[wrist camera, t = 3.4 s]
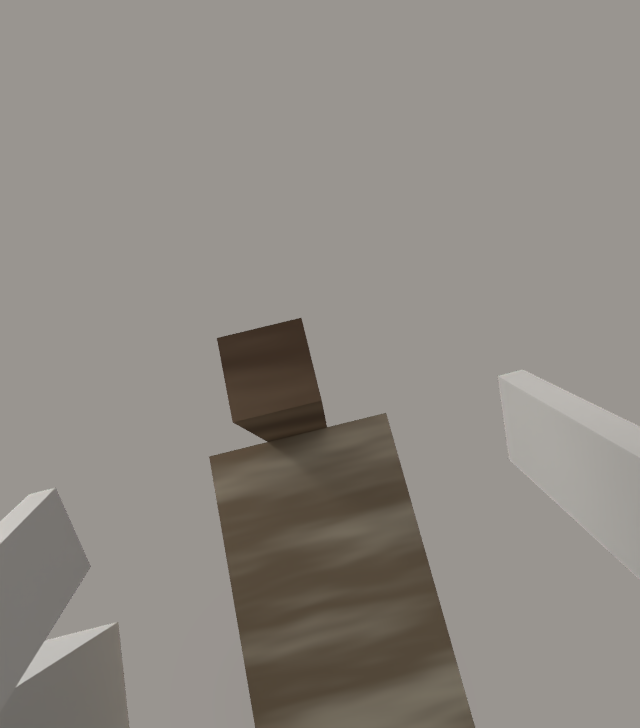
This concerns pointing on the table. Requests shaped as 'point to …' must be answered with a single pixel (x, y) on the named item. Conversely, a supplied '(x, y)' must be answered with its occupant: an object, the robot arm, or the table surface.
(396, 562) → the birch pedestal
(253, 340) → the walnut bar
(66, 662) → the grey plinth
